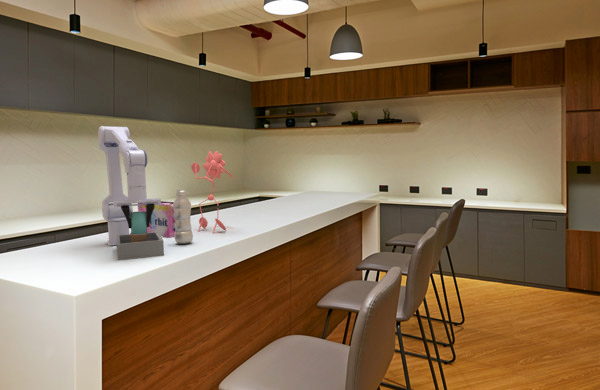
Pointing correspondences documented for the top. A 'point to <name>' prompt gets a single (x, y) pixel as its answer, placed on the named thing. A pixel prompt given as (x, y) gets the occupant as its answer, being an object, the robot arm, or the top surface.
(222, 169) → the figurine
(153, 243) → the tote
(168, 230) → the gum box
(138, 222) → the teal cylinder
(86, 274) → the top surface
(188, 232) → the plastic bottle
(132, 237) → the walnut cube
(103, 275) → the top surface
